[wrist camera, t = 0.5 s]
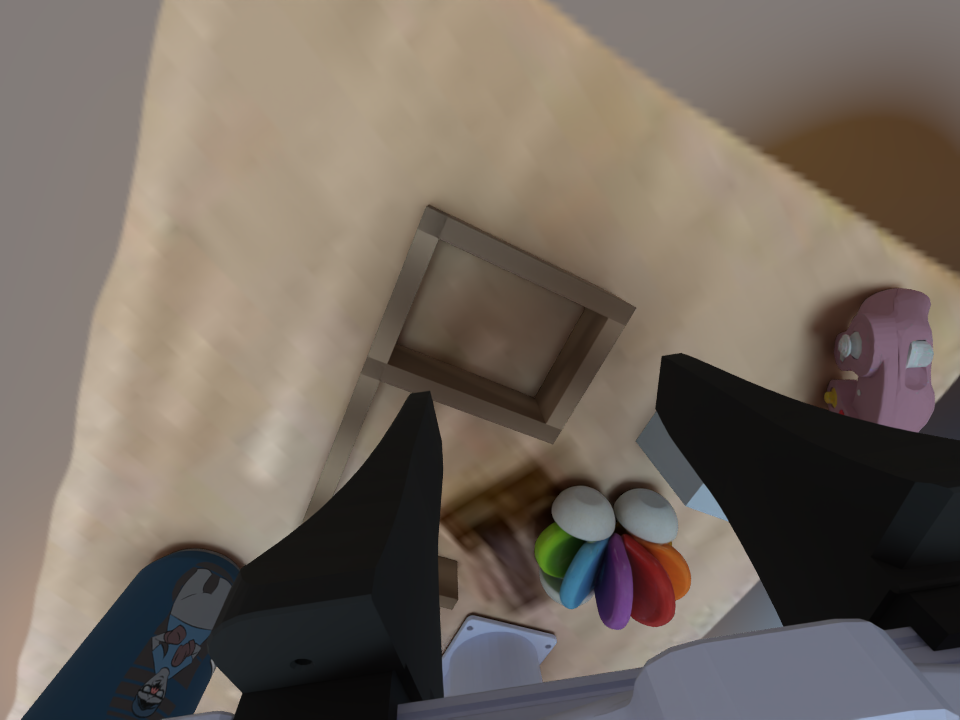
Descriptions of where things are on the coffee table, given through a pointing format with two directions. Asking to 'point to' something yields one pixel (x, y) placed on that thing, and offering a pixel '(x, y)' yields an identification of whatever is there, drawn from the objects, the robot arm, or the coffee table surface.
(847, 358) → the pink toy vehicle
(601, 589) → the rainbow petal rattle
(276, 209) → the coffee table surface
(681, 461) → the block
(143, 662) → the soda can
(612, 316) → the frame
